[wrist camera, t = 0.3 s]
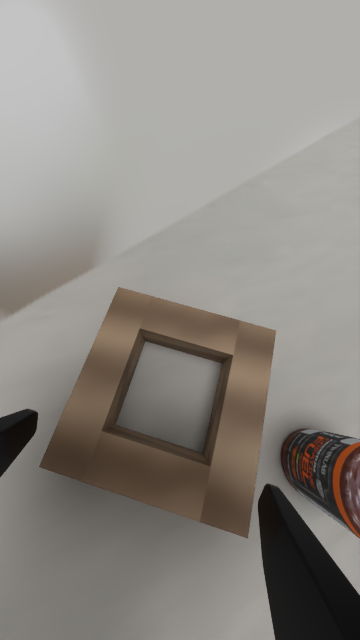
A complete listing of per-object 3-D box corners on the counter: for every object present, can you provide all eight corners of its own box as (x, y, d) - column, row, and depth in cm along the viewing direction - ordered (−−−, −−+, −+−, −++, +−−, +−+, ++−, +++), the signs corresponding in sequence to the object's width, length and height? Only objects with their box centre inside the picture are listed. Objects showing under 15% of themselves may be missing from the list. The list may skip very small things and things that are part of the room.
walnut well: (231, 508, 20) (247, 538, 15) (66, 453, 21) (38, 467, 16) (258, 342, 25) (275, 330, 21) (127, 305, 26) (118, 286, 22)
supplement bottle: (284, 418, 22) (386, 434, 12) (343, 440, 22) (504, 476, 11) (274, 485, 20) (385, 576, 10) (338, 510, 20) (529, 635, 9)
